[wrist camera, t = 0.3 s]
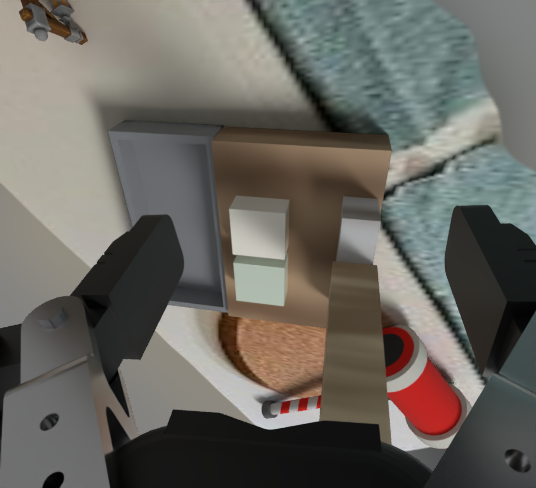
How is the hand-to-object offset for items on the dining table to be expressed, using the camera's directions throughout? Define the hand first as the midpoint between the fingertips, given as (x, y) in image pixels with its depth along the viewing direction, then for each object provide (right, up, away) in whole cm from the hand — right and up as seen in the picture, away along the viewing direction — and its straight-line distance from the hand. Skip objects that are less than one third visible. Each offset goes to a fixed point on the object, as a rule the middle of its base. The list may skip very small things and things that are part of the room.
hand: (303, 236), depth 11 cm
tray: (-8, +2, +23) cm, 24 cm away
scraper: (+6, -1, +18) cm, 19 cm away
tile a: (-1, +2, +18) cm, 18 cm away
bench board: (+2, +1, +21) cm, 22 cm away
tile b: (-1, -2, +21) cm, 21 cm away
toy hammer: (+10, -15, +32) cm, 36 cm away
